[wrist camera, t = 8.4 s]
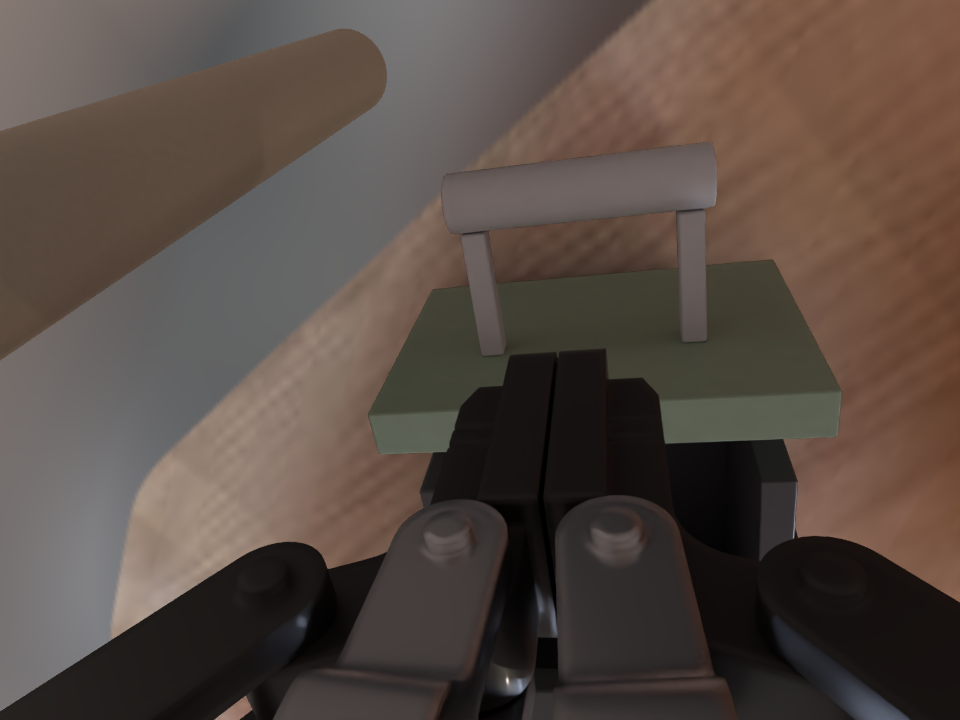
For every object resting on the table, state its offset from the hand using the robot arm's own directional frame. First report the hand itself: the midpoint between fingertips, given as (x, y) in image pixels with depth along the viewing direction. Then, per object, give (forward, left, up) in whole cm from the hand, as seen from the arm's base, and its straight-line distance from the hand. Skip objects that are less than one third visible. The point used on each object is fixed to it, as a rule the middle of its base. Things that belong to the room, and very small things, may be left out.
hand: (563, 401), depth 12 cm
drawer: (+2, -6, -11) cm, 13 cm away
